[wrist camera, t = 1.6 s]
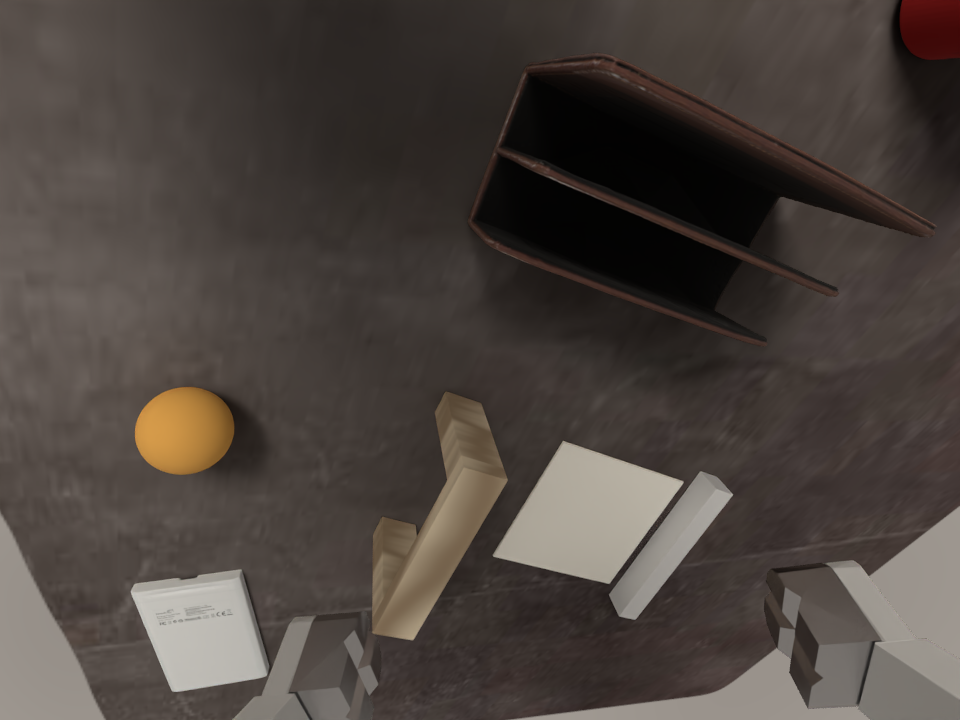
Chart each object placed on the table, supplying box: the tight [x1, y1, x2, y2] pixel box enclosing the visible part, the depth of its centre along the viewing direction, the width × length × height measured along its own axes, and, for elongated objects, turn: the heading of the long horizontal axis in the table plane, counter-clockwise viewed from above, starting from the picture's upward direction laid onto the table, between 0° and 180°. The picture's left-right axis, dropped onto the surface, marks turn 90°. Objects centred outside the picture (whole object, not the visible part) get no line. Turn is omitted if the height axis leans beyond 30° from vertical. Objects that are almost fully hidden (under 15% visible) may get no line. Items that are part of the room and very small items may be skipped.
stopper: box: [609, 471, 733, 620], centre depth 49 cm, size 2×16×2 cm, turn 154°
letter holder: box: [468, 53, 936, 346], centre depth 30 cm, size 10×20×14 cm, turn 68°
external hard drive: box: [131, 570, 269, 692], centre depth 45 cm, size 2×8×12 cm
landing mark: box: [493, 441, 684, 584], centre depth 48 cm, size 13×13×1 cm
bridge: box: [372, 391, 508, 640], centre depth 38 cm, size 3×15×9 cm, turn 153°
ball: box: [135, 387, 234, 475], centre depth 34 cm, size 6×6×6 cm
